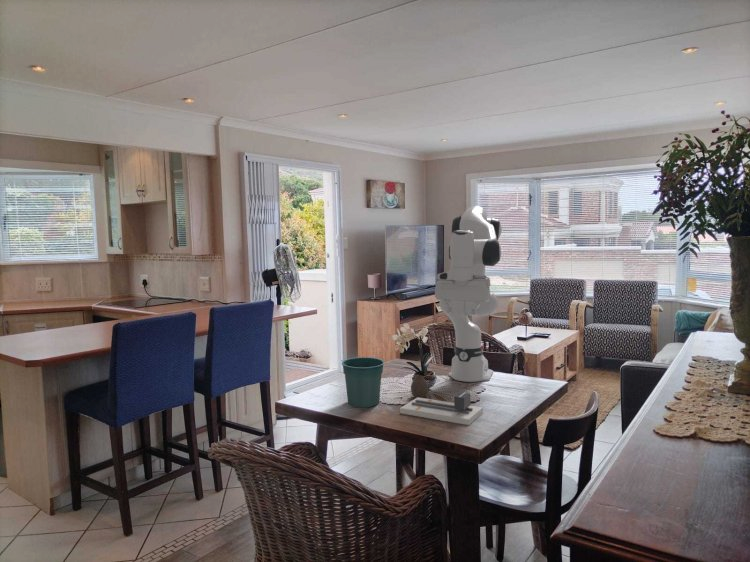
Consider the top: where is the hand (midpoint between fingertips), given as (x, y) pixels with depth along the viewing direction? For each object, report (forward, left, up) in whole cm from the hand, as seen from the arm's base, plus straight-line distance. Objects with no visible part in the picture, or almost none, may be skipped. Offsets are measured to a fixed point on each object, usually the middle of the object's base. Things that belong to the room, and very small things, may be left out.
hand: (462, 313), depth 194 cm
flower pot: (+11, -36, -36) cm, 52 cm away
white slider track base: (+8, -5, -36) cm, 37 cm away
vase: (-5, -20, -36) cm, 41 cm away
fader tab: (+8, +3, -33) cm, 34 cm away
